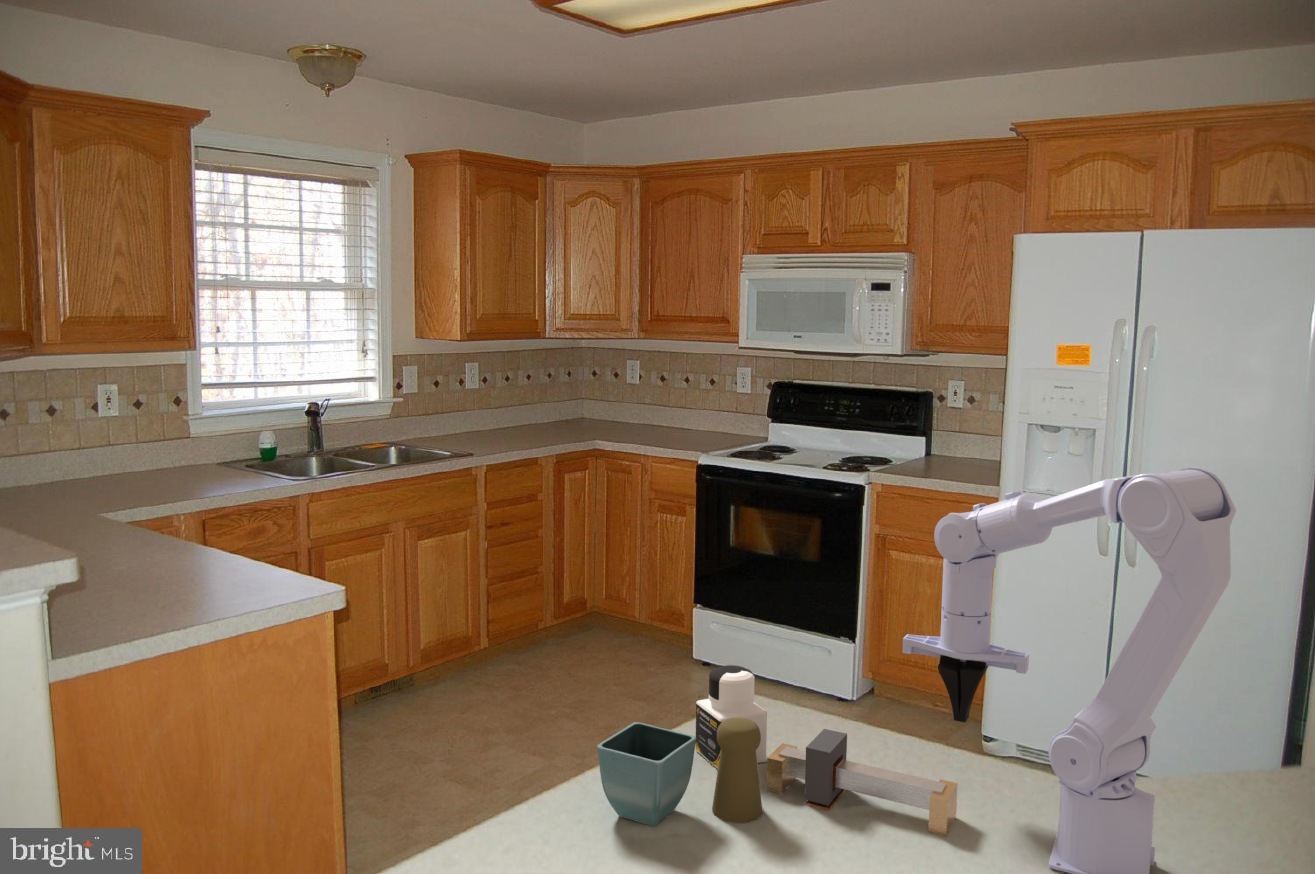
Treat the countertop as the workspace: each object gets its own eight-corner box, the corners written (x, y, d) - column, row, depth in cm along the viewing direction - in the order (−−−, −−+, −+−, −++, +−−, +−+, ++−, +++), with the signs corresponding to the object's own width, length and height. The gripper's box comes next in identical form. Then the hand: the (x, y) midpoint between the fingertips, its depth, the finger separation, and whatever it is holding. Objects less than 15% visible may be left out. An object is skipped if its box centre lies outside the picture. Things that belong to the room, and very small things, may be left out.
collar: (845, 784, 122) (847, 733, 122) (828, 805, 117) (829, 752, 116) (822, 778, 124) (824, 728, 123) (804, 799, 118) (806, 747, 118)
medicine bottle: (694, 750, 133) (695, 665, 131) (740, 741, 136) (741, 658, 134) (719, 772, 126) (721, 682, 125) (767, 762, 129) (769, 674, 128)
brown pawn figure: (760, 825, 113) (762, 734, 112) (708, 819, 114) (709, 729, 113) (765, 801, 119) (767, 713, 117) (715, 795, 120) (717, 709, 119)
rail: (958, 813, 116) (959, 776, 115) (944, 840, 110) (945, 801, 109) (784, 771, 127) (785, 737, 126) (763, 793, 121) (764, 757, 120)
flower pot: (634, 789, 121) (635, 719, 120) (697, 807, 117) (698, 735, 116) (594, 819, 114) (594, 745, 113) (659, 839, 109) (660, 763, 108)
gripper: (1035, 610, 118) (1029, 719, 119) (914, 594, 125) (910, 696, 126) (1025, 626, 112) (1019, 740, 113) (899, 607, 119) (895, 715, 120)
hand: (961, 718), depth 119 cm, fingers closed
